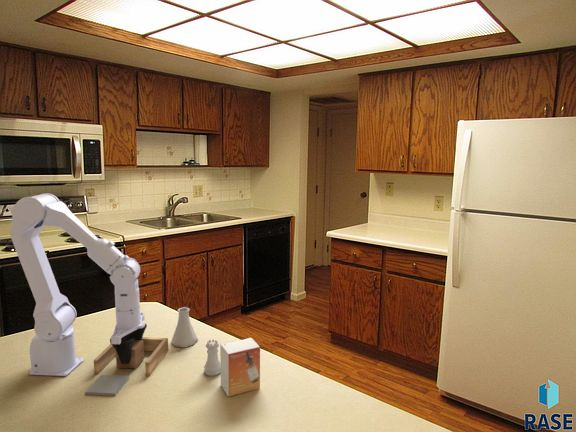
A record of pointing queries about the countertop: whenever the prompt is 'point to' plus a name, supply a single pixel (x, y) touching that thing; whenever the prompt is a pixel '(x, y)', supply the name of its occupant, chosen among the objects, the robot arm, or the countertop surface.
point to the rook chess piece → (212, 359)
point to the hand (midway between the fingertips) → (130, 357)
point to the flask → (184, 330)
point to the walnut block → (133, 355)
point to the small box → (240, 366)
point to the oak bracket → (149, 345)
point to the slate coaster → (107, 385)
